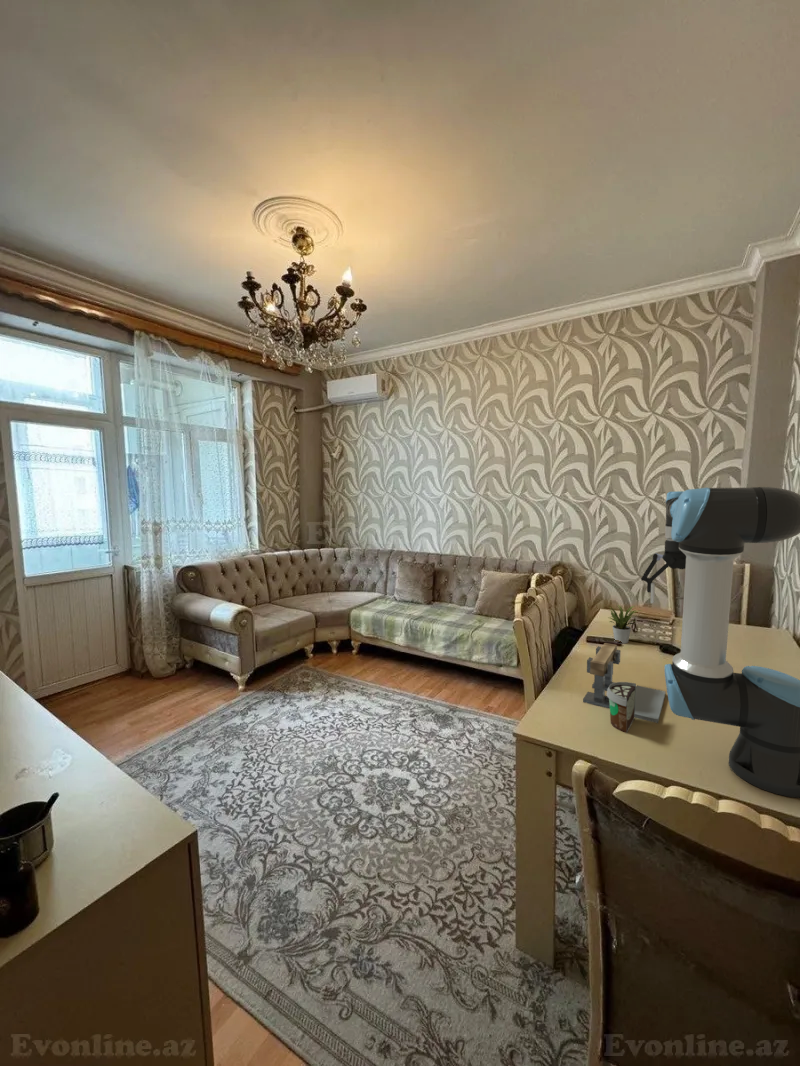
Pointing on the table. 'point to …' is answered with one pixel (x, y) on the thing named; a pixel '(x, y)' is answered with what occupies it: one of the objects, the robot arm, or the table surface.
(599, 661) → the rail
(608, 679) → the post far
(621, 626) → the house plant
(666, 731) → the table surface
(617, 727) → the food container
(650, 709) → the mat
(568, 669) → the table surface
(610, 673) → the post near
